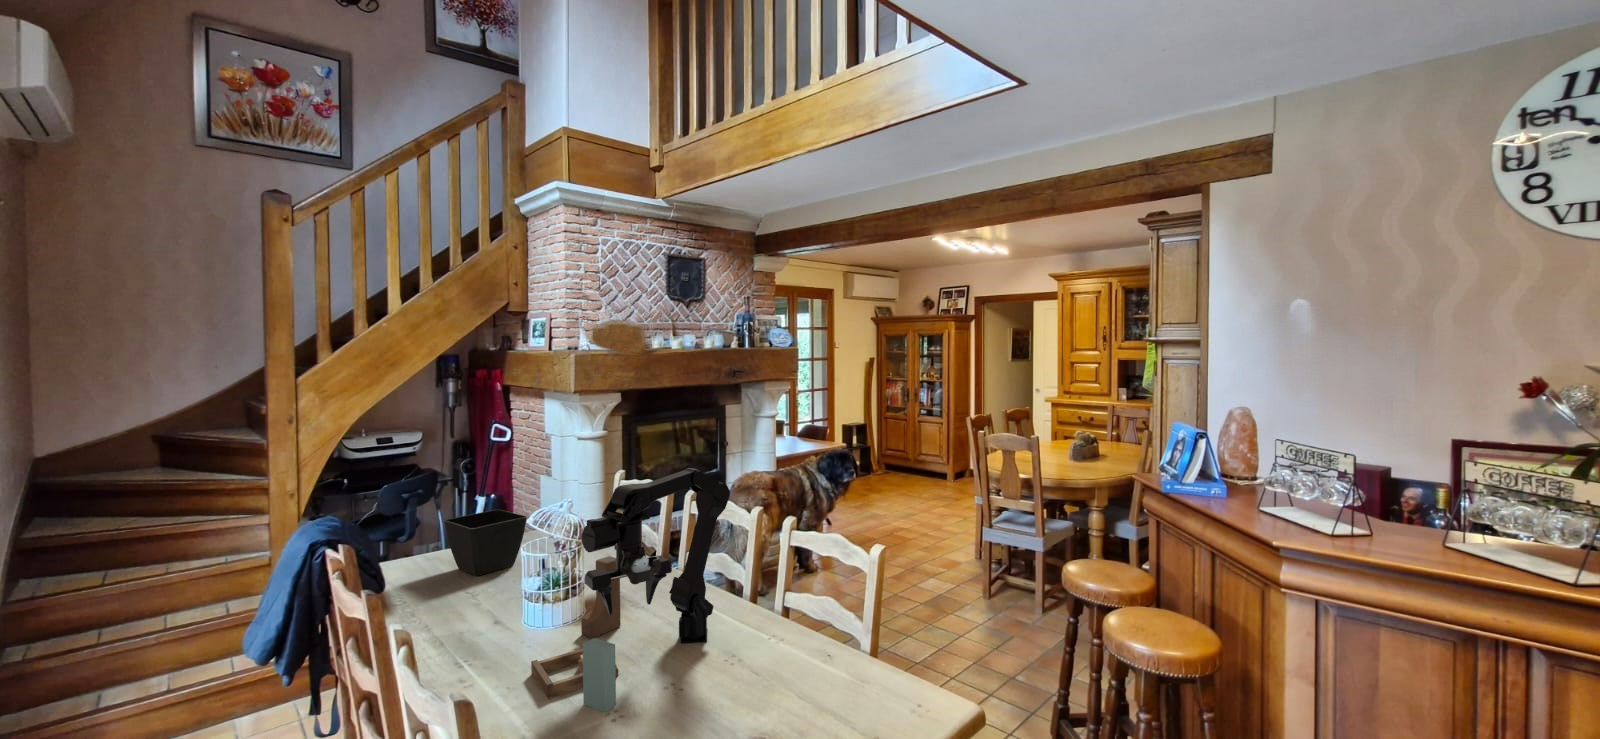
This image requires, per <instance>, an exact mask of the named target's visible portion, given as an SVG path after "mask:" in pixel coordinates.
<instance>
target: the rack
mask: <svg viewBox="0 0 1600 739" xmlns="http://www.w3.org/2000/svg"><path fill="white" fill-rule="evenodd" d="M580 655H583V647H582V648H579V649H576V650H575V649H574V650H573V651H569V652H566V653H563V654H559V655H556V656H552V657H549V658H545V659H542V660H538V659H535V660H534V659H533V660H531V661H530V663H531V664H530V665H531V666H530V668H531V669H530V670H531V676H532V677H534V678H533V679H534V680H536V681H535V682H536V684H537V685H538V687H539V689H540V688H541V689H540V690H541V691H543V692H542V693H543V695H544V694H545V695H544V696H545V698H546V697H547V698H546V700H549V699H551V698H550V697H552V698H555V697H558V696H561V695H564V694H567V693H570V692H572V691H575V690H578V689H582V688H583V673H582V672H580V673H578V674H575V675H572V676H568V677H566V678H563V679H559V680H556V681H554V682H553V681H552V679H551V678H550V677H549V674H548V673H549V672H550V673H551V672H553V671H557V670H559V669H562V668H566V667H569V666H572V665H576V664H578V660H580ZM615 667H616V677H618V676H619V667H617V664H616V663H615ZM548 698H549V699H548Z"/></svg>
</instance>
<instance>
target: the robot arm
mask: <svg viewBox="0 0 1600 739" xmlns="http://www.w3.org/2000/svg"><path fill="white" fill-rule="evenodd" d="M686 489H687V490H688V489H690V490H691V491H692V492H694V493H695V494H696V495H695V496H696V497H695V505H696V509H697V519H696V522H695V525H694V530H693V534H692V538H691V542H690V547H689V550H688V553H687V558H686V561H685V566H684V570H683V571H682V573H681V574H680V575H679V576H678V577H677V576H674V577H673V578H672V584H671V588H670V590H669V591H668V593H669V594H670V597H669V598H670V601H671V603H672V605H673V606H674V608H675V610H676V611H677V612H680V613H681V615H680V617H679V619H678V637H679V638H680V643H681V644H686V643H687V644H688V643H701V642H703V643H705V642H707V641H708V617H709V616H710V615H712V614H713V610H714V605H713V604H712V603H711V602H710V601H709V600H708V599H707V598H706V591H707V587H706V582H705V577H704V575H705V574H704V573H705V569H706V566H707V561H708V558H709V553H710V549H711V544H712V541H713V537H714V533H715V528H716V524H717V521H718V518H719V517H720V516H721V514H722V513H723V512H724V511H725V509H726V508H727V505H728V503H729V500H730V495H731V490H730V488H729V486H728V485H727V484H726V483H724V482H720V481H717V480H716V479H714V478H712V477H710V476H708V475H707V474H706V473H704V472H703V471H701V469H697V468H691V467H686V468H684V469H683V470H680V471H679V472H675V473H673V474H670V475H666V476H663V477H660V478H657V479H655V480H652V481H648V482H645V483H629V484H622V485H619V486H616V488H615V489H614V491H613V493H612V495H611V498H610V500H609V501H608V503H607V506H605V508H604V510H603V512H602V514H601V517H600V518H596V519H595V518H591V519H588V520H586V526H584V528H582V529H583V530H582V533H581V537H580V538H581V543H582V546H583V548H584V550H585V551H586V552H587V553H593V552H598V551H600V550H604V549H609V548H613V547H614V548H613V549H614V550H615V551H616V552H615V556H616V557H615V558H616V562H615V567H616V570H615V571H610V572H607V571H606V570H604V569H603V568H600V569H596V568H595V569H592V570H588V571H587V572H586V573H585V575H584V584H585V585H586V586H587V587H588V588H589V589H591V590H592V591H595V592H596V591H597V592H599V593H600V595H601V597H602V599H603V601H604V604H605V606H606V609H607V611H608V613H609V614H610V615H612V601H611V591H612V588H611V587H610V586H609V585H610V584H611V580H615V579H619V578H620V579H623V578H628V581H629V582H630V584H632V585H639V584H641V583H644V582H645V598H646V604H647V605H651V603H652V600H653V598H654V595H655V592H656V589H657V587H658V584H659V583H660V581H661V580H662V579H665V578H666V577H667V576H668V575H667V574H670V573H672V572H673V565H672V562H671V560H670V559H667V558H666V557H665V556H663V555H654V556H647V555H646V551H645V546H643V521H646V520H650V519H651V516H650V515H649V514H648V513H647V512H645V510H647V509H648V508H650V507H651V506H652V504H653V503H654V502H656V501H658V500H660V499H663V498H666V497H668V496H670V495H673V494H676V493H679V492H681V491H684V490H686ZM618 511H620V512H618Z"/></svg>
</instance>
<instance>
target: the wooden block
mask: <svg viewBox="0 0 1600 739" xmlns="http://www.w3.org/2000/svg"><path fill="white" fill-rule="evenodd" d="M615 562H616V557H614V556H611V555H610V556H609V555H608V556H606V557H601V558H599V559H596V560H595V569H600V568H603V569H604V570H606V571H607V572H610V571H615V570H616V567H615ZM609 586H610V587H611V588H612V591H611V601H612V615H610V614H609V613H608V611H607V609H606V606H605V604H604V601H603V599H602V597H601V595H600V593H599V592H597V591H596V590H595V601H594V606H593V607H592V609H591V611H590V612H589V613H587V614H585V615H584V616H582V617H581V619H580V622H581V625H580V626H581V628H580V629H581V635H582V636H584V637H587V638H589V639H590V640H591V639H593V638H597V637H599V636H601V635H603V634H606V633H608V632H611V631H613V630H615V629H618V628H620V627H621V624H622V623H621V578H619V579H615V580H611V584H610V585H609Z"/></svg>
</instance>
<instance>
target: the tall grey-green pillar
mask: <svg viewBox="0 0 1600 739" xmlns="http://www.w3.org/2000/svg"><path fill="white" fill-rule="evenodd" d="M582 648H583V687H582V688H583V694H582V696H583V701H582V702H583V705H585V706H587V707H589V708H593V709H595V710H598V711H600V712H604V713H606V712H607V711H609V710H610V709H612V708H613V707H615V706H616V705H617V686H616V685H617V684H616V682H617V681H616V679H617V678H616V677H617V676H616V667H615V664H616V643H613V642H609V641H605V640H602V639H598V638H597V637H595V638H593V639H591V638H590V639H589V640H588V641H586V642H583V643H582Z"/></svg>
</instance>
